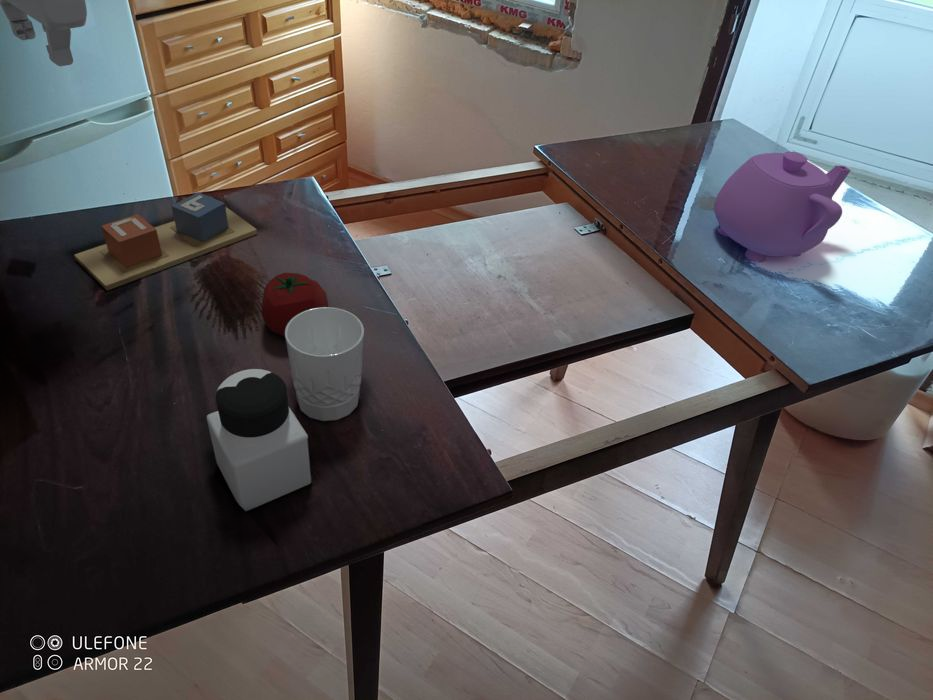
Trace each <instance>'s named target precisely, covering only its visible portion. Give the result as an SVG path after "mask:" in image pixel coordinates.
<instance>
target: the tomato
mask: <svg viewBox="0 0 933 700" xmlns="http://www.w3.org/2000/svg"><path fill="white" fill-rule="evenodd" d="M320 307H329V300H328V296H327V293H326V291H325V290H324V289H323V287H322V286H321V285H320V283H318V281H316V280H314V279H311V278H310V277H308V276H307V275H304V274H301V273H298V272H282V273H280V274H277V275H275V276H274V277H272V278H271V279H270V280H269V281H268V282H267V284H266V285H265V287H264V289H263V294H262V301H261V316H262V319H263V321H264V324H265V325H266V327H268V328H269V330H270V331H271V332H272V333H274V334H277V335H280V336H282V337H283V338H285V329H286V326H287V324H288V323H289V321H290V320H291V319H292V318H293V317H295V316H296V315H298V314H299V313H301V312H304V311H306V310H309V309H313V308H320Z"/></svg>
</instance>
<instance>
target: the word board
mask: <svg viewBox="0 0 933 700" xmlns="http://www.w3.org/2000/svg"><path fill="white" fill-rule="evenodd" d="M225 207H226V213H227V220H228V226H229V227H228V228H227V229H225V230H223V231H222V232H220V233H218V234H216V235H215V236H213V237H211V238H210V239H208V240H206V241H204V242H201V241H199V240H197V239H194V238H192V237H190V236H188V235H185V234H183V233H181V232H178V231H177V230H176V225H175V220H173V221H170V222H167V223H164V224H161V225H158V226H154V228H155V229H156V230H157V234H158V239H159V243H160V247H161V251H162V255H161V256H158V257H155V258H152V259H150V260H147V261H144V262H141V263H139V264H136V265H133V266H130V267H128V268H126V267H125V266H124V265H123V264H121V263H120V262H119V261H118V260H117V259H116V258H115V257H114V256H113V255H112V254H111V253H110V252H109V251H108V248H107V245H106V243H105V244H101V245H98V246H95V247H93V248H90V249H86V250H84V251H81V252H78V253H75V254H73V255H74V259H75V261H76V262H78V263H79V265H80V266H82V268H84V270H86V271H87V272H88V273H89V275H91V276H92V277H93V279H95V280H96V281H97V282H98V283H99V284H100V285H101V286H102V287H103V288H104V289H105V291H110V290H113V289H116V288H118V287H121V286H124V285H126V284H128V283H132V282H134V281H137V280H139V279H142V278H145V277H147V276H150V275H153V274H155V273H158V272H161V271H164V270H165V269H168V268H171V267H174V266H176V265H179V264H181V263H185V262H187V261H189V260H192V259H195V258H197V257H201V256H204V255H205V254H208V253H210V252H213V251H216V250H218V249H221V248H224V247H227V246H229V245H232V244H235V243H237V242H240V241H243V240H245V239H248V238H250V237H253V236H256V235H258V229H257V228H255V227H254V226H253V225H251V224H250V223H249V222H247V221H246V220H245V219H243V218H242V217H241V216H239V215H238V214H236V213H235V212H234V211H232V209H229V208H228V207H227V206H225Z"/></svg>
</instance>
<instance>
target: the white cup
mask: <svg viewBox="0 0 933 700" xmlns="http://www.w3.org/2000/svg"><path fill="white" fill-rule="evenodd" d="M364 336H365V328H364V325H363V323H362V321H361V320H360V318H358V316H356V315H355V314H353V313H352V312H350V311H348V310H346V309H342V308H338V307H332V306H331V307H330V306H328V307H320V308H313V309H309V310H306V311H304V312H301V313H299V314H298V315H296V316H295V317H293V318H292V319H291V320H290V321H289V323H288V324H287V326H286V329H285V337H284V338H285V343H286V349H287V355H288V362H289V368H290V372H291V373H290V374H291V378H292V383H293V384H292V385H293V388H294V390H295V395H296V401H297V404H298V407H299V410H300V411H301V412H302V413H303V414H304V415H306V416H307V417H308V418H310V419H314V420H317V421H321V422H331V421H338V420H341V419H343V418H345V417H347V416H350V414H352V412H353V411H355V409H356V408H357V407H358V405H359V401H360V400H359V399H360V395H361V394H360V393H361V392H360V391H361V385H362V374H363V373H362V372H363V362H364V361H363V356H364V339H365V337H364Z"/></svg>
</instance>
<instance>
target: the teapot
mask: <svg viewBox="0 0 933 700" xmlns="http://www.w3.org/2000/svg"><path fill="white" fill-rule="evenodd" d="M851 171H852V169H850V168H849V167H847V166H845V165H834V167H832V168H831V169H830V170H829V171H828V172H826V173H825V171H823V170H822V169H821V168H820V167H818V166H817V165H815V164H814V163H812V162H810V161H808V157H806V156H805V155H804V154H802V153H800V152H796V151H785V152H767V153H759V154H756V155H753V156H751V157H749V158H748V160H746V161H745V162H744V163H743V164H742V165H740V166H739V168H737V169H736V170H735V171H734V172H733V173H732V174H731V176H729V177H728V179H727V180H726V181H725V183H724V184H723V185H722V187H721V188H720V190H719V191H718V193H717V195H716V198H715V200H714V202H713V211H714V215H715V218H716V221H717V224H718V225H719V227H718V228H717V233H718V234H719V235H721V236H723V237H725V238H726V237H727V238H730V239H732V240H733V241H734V242H735V243H737V244H739V245H740V246H742V247H744V248H745V249H746V251H745V252H744V256H745V258H746V259H748V260H749V261H752V262H756V263H762V262H765V258H766V256H769V257H795V258H796V257H800V256H801V255H802V254H803V253H806V252H808V251H810V250H812V249H813V248H815V247H817V246H818V245H820V244H821V243H822V242H824V240H825V238H826V236H827V234H828V231H829V230H830V229H831V228H833V226H835V225H836V224H837V223H838V222H839V220H840V219H841V217H842V215H843V208H842V206H841V205H840V204H839V203H838V202H837V201H835V200H833V197H834V195H835V194H836V192H837V191H838V190H839V188H840V187H841V186H842V184H843V183H844V181H845V180H846V178H847V177H848V175H849V174H850V172H851Z"/></svg>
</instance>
